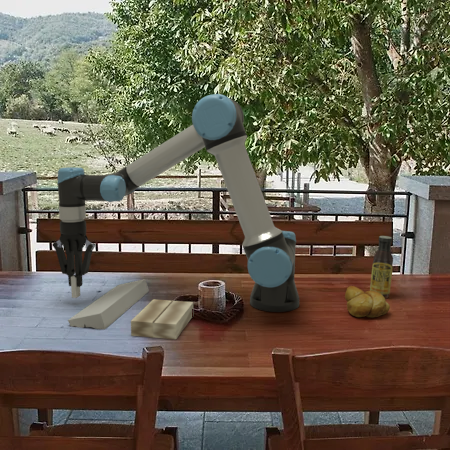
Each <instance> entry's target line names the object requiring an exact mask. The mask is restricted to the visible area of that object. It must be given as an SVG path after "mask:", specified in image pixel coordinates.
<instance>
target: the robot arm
mask: <svg viewBox="0 0 450 450" xmlns="http://www.w3.org/2000/svg"><path fill="white" fill-rule="evenodd" d="M244 117H245V116H244V111H243V109H242V107H241V106H240V104H239V102H237V101H236V100H234V99H232V98H229V97H228V96H226V95H223V94H222V93H221V94H220V93H213V94H209V95H206V96H204V97H202V98H201V99H199V100H198V101H197V102H196V104H195V105H194V108H193V110H192V114H191V122H192V125H190V126H188V127H187V128H185V129H183V130H182V131H180V132H178V133H177V134H175V135H173V136H172V137H171V138H169V139H167V140H166V141H164V142H162V143H161V144H159V145H158V146H156V147H154V148H153V149H151V150H150V151H147V153H145V154H144V155H142V156H141V157H138V158H137V159H136V160H134V161H132V162H131V163H128V165H126V166H125V167H123V168H121V169H119V170H118V171H116V172H113V173H108V174H86V173H85V170H84V168H82V167H74V166H73V167H61V168H58V169H57V182H56V184H57V192H58V193H57V194H58V215H59V216H58V217H59V220H60V221H59V232H60V236H59V239H58V240H57V241H55V242H53V243H52V247H53V248H54V250H55V253H56V255H57V260H58V263H59V267H60V271H61V273H62V274H63V275H67V277H68V280H67V281H68V287H70V289H71V290H70V291H71V298H72V299H77V298H79V297H81V287H82V286H83V284H84V283H83V276H85V275H87V274H88V273H89V270H90V265H91V260H92V254H93V250H94V249H95V247H96V243H95V242H91V241H89V239H88V236H87V221H86V220H85V219H86V218H87V217H86V216H87V215H86V214H87V213H86V201H87V202H88V201H89V202H90V201H91V202H93V201H95V202H108V203H112V202H121V201H122V200H124V197H127V196H129V195H130V194H132V193H134V192H135V190H136V189H138V188H140V187H141V186H143V185H145V184H146V183H148V182H150V181H151V180H153V179H155V178H156V177H159V176H160V175H161V174H163V173H164V172H166V171H167V170H170V169H171V168H172V167H174V166H176V165H178V164H179V163H181V162H183V161H184V160H186V159H188V158H189V157H191V156H193V155H195V154H196V153H197V152H199V151H201V150H203V149H204V148H205V149H206V152H207V153H209V154H211V155H212V156H214V158H215V160H216V163H217V166H218V168H219V171H220V173H221V176H222V179H223V181H224V185H225V187H226V190H227V193H228V196H229V197H230V201H231V203H232V206H233V209H234V212H235V214H236V216H237V219H238V221H239V224H240V225H239V226H240V228H241V230H242V233H243V235H244V239H243V242H242V245H241V246H242V248H243V250H244V253H245V257H246V258H247V270H248V271H247V272H248V275H249V277H250V278H251V280H252V281H253V282H254V284H253V287H252V290H251V293H250V295H249V304H250V306H251V307H252V308H254V309H257V310H260V311H264V312H271V313H273V312H274V313H281V312H282V313H283V312H285V313H286V312H290V311H294V310H297V309H298V308H299V307H300V296H299V292H298V290H297V289H298V288H297V286H296V282H295V269H296V267H295V266H296V264H295V263H296V243H297V239H296V234H295V232H294V231H289V230H288V231H287V230H281V228H280V229H279V228H278V227H276V226H275V224H274V222H273V219H272V216H271V213H270V211H269V208H268V205H267V203H266V200H265V198H264V195H263V192H262V189H261V187H260V184H259V181H258V179H257V176H256V173H255V170H254V168H253V165H252V162H251V159H250V156H249V153H248V151H247V148H246V146H245V143H246V140H247V138H248V135H247V133H246V129H245V126H244V120H245V119H244ZM64 248H65V249H64ZM83 248H85V251H83ZM83 252H84V255H83Z"/></svg>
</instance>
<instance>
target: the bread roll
mask: <svg viewBox="0 0 450 450" xmlns="http://www.w3.org/2000/svg"><path fill="white" fill-rule="evenodd" d="M344 299H345V300H346V310H347V312H348V313H349V314H350V315H352V316H354V317H356V318H364V317H367V318H377V317H380V316H384V315H386V314H387V313H388V312H389V311H390V308H391V306H390V303H388V302H387V301H386V299H385V298H384V297H383V295H382V294H380V293H379V292H376V291H370V290H367V291H364V290H363V289H361V288H359V287H357V286H355V285H349V286H347V287H346V291H345V294H344Z"/></svg>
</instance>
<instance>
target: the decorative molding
mask: <svg viewBox="0 0 450 450" xmlns="http://www.w3.org/2000/svg"><path fill="white" fill-rule="evenodd" d="M149 292H150V291H149V287H148V282H147V280H146V279H145V278H143V279H139V280H134V281H130V282H126V283H121V284H117V285H116V286H115V287H113V288H111V289H110V290H108V292H106V293H104V294H103V295H102V296H100V297H99V298H98V299H96V300H95V301H93V302H91V303H90V304H89V305H87V306H86V307H84V308H83V309H82V310H80V311H79V312H77V313H76V314H75V315H72V317H70V318H69V319H68V320H67V322H68V324H69V326H70V327H71V328H73V327H76V328H79V329H80V328H83V329H84V328H93V329H95V330H103V331H104V330H107V328H108V327H109V326H111V325H112V324H113V323H114V322H116V321H117V319H119V318H120V317H121V316H122V315H123V314H125V313H126V312H127V311H128V310H129V309H130V308H131V307H132V306H134V305H135V304H136V303H138V302H139V301H140V300H141V299H142V298H143V297H144V296H146V295H148V293H149Z"/></svg>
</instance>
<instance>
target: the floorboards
mask: <svg viewBox="0 0 450 450" xmlns="http://www.w3.org/2000/svg"><path fill="white" fill-rule="evenodd" d="M192 309H193V310H194V301H182V300H181V301H180V300H175V299H172V300H167V299H165V300H164V299H152V300H151V301H150V302H149V303H148V304H147V305H145V307H143V309H142V310H141V311H140V312H138V313H137V314H136V315H135V316H134V317H133V318H132V319H131V320H130V336H132V337H142V338H143V337H145V338H154V339H155V338H156V339H167V340H177V339H178V337H179V336H180V335H181V334H182V332H183V331H184V329H185V328H186V326H187V325H188V324H189V322H190V321H191V319H192V318H193V317H192Z"/></svg>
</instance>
